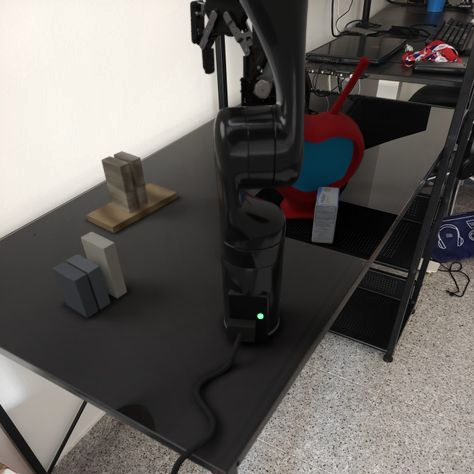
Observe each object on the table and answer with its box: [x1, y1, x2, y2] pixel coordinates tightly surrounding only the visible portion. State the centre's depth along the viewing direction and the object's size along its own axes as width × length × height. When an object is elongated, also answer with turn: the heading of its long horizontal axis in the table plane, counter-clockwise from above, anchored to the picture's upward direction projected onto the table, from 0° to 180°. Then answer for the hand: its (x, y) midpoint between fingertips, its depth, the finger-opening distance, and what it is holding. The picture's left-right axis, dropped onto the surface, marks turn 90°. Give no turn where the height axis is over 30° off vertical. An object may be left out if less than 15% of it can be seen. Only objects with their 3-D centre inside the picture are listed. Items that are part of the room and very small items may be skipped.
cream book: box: [80, 231, 128, 299], centre depth 76 cm, size 2×6×10 cm, turn 52°
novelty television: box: [275, 55, 371, 220], centre depth 88 cm, size 21×13×30 cm, turn 88°
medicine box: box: [311, 187, 340, 245], centre depth 89 cm, size 8×4×9 cm, turn 169°
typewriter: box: [239, 50, 320, 115], centre depth 112 cm, size 31×27×25 cm
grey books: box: [51, 253, 112, 319], centre depth 74 cm, size 5×6×8 cm
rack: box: [86, 150, 178, 234], centre depth 97 cm, size 20×9×12 cm, turn 142°
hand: (228, 76), depth 77 cm, fingers open, 8 cm apart
